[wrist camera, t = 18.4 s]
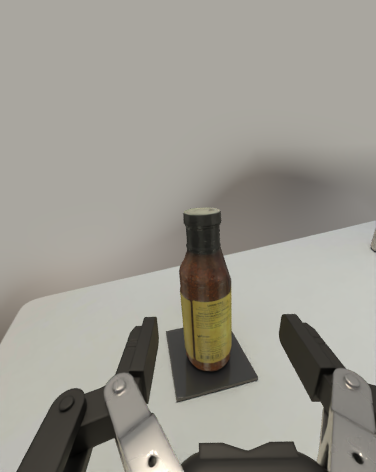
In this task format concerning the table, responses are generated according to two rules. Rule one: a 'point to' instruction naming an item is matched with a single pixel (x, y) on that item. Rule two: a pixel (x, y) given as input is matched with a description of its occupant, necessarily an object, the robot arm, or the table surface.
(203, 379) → the slate coaster
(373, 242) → the cylinder vase
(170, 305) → the table surface
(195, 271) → the sauce bottle
